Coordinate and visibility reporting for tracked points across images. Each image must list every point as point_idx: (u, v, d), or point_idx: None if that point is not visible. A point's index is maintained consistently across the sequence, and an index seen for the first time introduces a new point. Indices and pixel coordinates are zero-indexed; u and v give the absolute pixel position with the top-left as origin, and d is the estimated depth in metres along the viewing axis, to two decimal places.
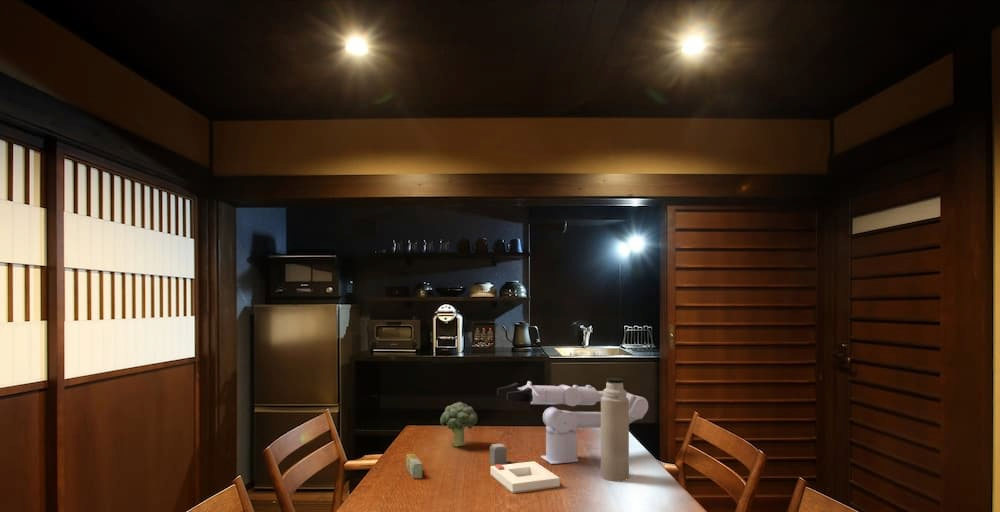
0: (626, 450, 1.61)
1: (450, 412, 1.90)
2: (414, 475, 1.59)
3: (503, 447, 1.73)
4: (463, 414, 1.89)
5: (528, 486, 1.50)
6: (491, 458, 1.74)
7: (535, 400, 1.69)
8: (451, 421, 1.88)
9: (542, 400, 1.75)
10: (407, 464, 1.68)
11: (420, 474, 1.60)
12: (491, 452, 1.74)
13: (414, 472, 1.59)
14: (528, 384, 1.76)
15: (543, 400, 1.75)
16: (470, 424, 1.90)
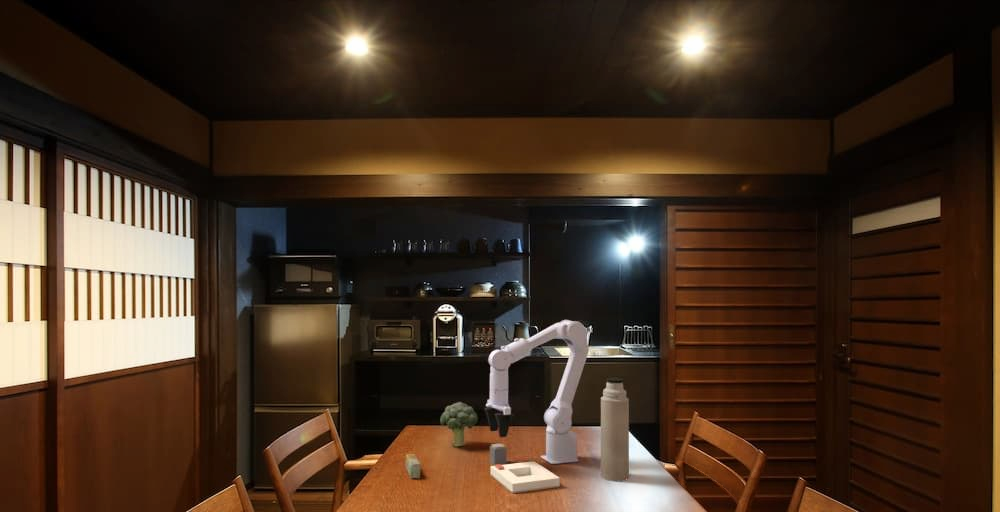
0: (626, 450, 1.61)
1: (450, 412, 1.90)
2: (412, 475, 1.59)
3: (503, 447, 1.73)
4: (463, 414, 1.89)
5: (528, 486, 1.50)
6: (491, 458, 1.74)
7: (509, 412, 1.69)
8: (451, 421, 1.88)
9: (505, 393, 1.74)
10: (406, 464, 1.68)
11: (418, 474, 1.60)
12: (491, 452, 1.74)
13: (412, 472, 1.59)
14: (489, 406, 1.74)
15: (505, 392, 1.74)
16: (470, 424, 1.90)
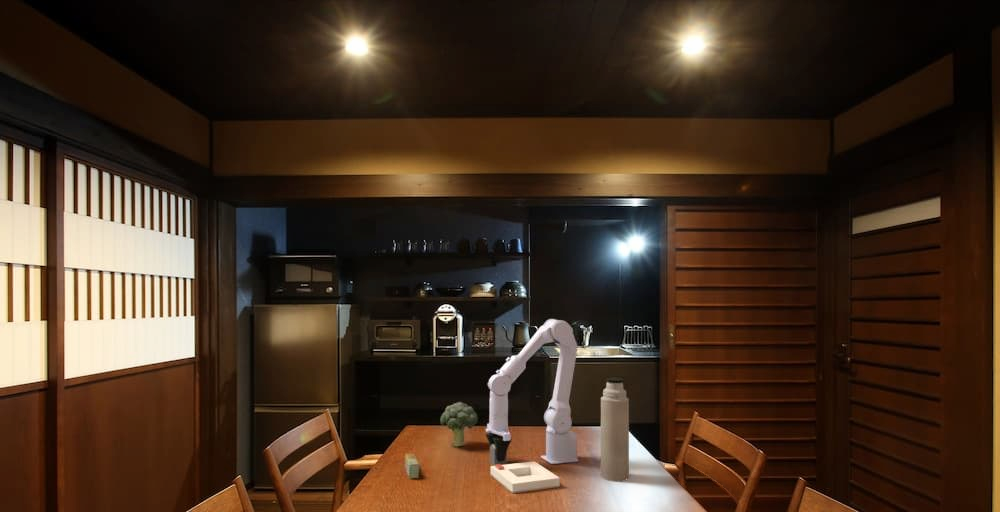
0: (626, 450, 1.61)
1: (450, 412, 1.90)
2: (410, 475, 1.59)
3: None
4: (463, 414, 1.89)
5: (528, 486, 1.50)
6: (491, 458, 1.74)
7: (509, 438, 1.68)
8: (451, 421, 1.88)
9: (505, 418, 1.73)
10: (405, 464, 1.68)
11: (416, 474, 1.59)
12: (491, 451, 1.74)
13: (410, 472, 1.59)
14: (489, 431, 1.73)
15: (505, 417, 1.73)
16: (470, 424, 1.90)
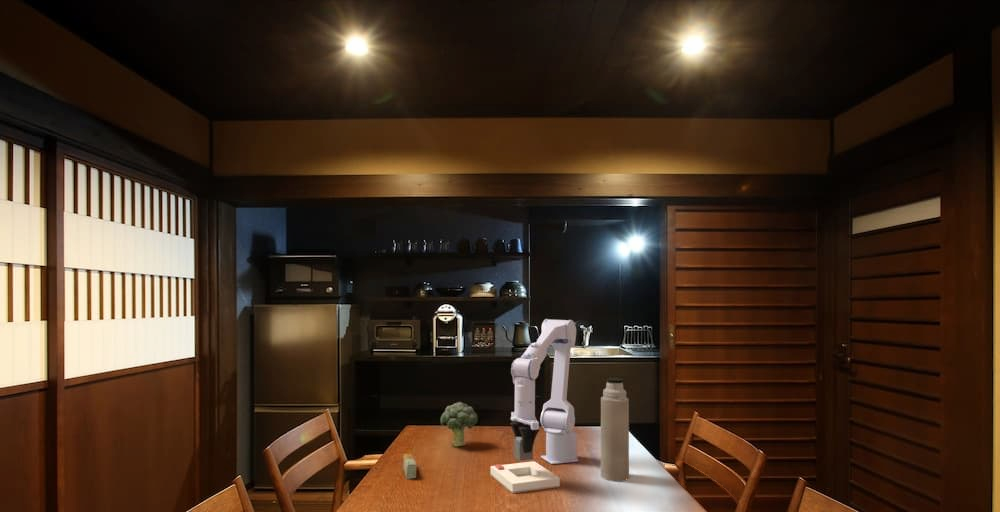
0: (626, 450, 1.61)
1: (450, 412, 1.90)
2: (408, 475, 1.59)
3: None
4: (463, 414, 1.89)
5: (528, 486, 1.50)
6: (516, 452, 1.59)
7: (537, 427, 1.53)
8: (451, 421, 1.88)
9: (532, 406, 1.58)
10: (403, 464, 1.68)
11: (414, 475, 1.59)
12: (516, 445, 1.59)
13: (408, 472, 1.59)
14: None
15: (532, 405, 1.58)
16: (470, 424, 1.90)
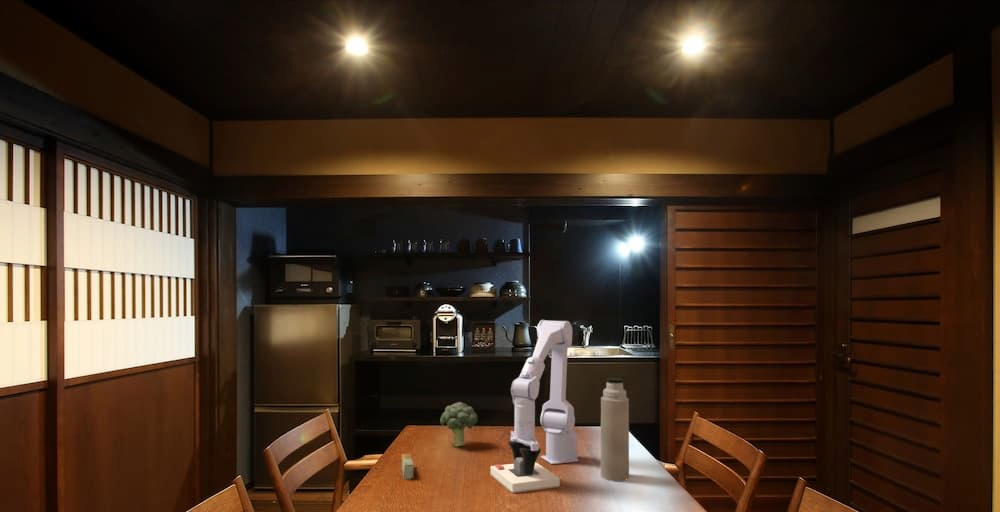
0: (626, 450, 1.61)
1: (450, 412, 1.90)
2: (405, 476, 1.59)
3: None
4: (463, 414, 1.89)
5: (528, 486, 1.50)
6: (515, 473, 1.58)
7: (537, 448, 1.53)
8: (451, 421, 1.88)
9: (532, 426, 1.58)
10: None
11: (411, 475, 1.59)
12: (516, 466, 1.58)
13: (405, 473, 1.59)
14: (514, 440, 1.58)
15: (532, 425, 1.58)
16: (470, 424, 1.90)
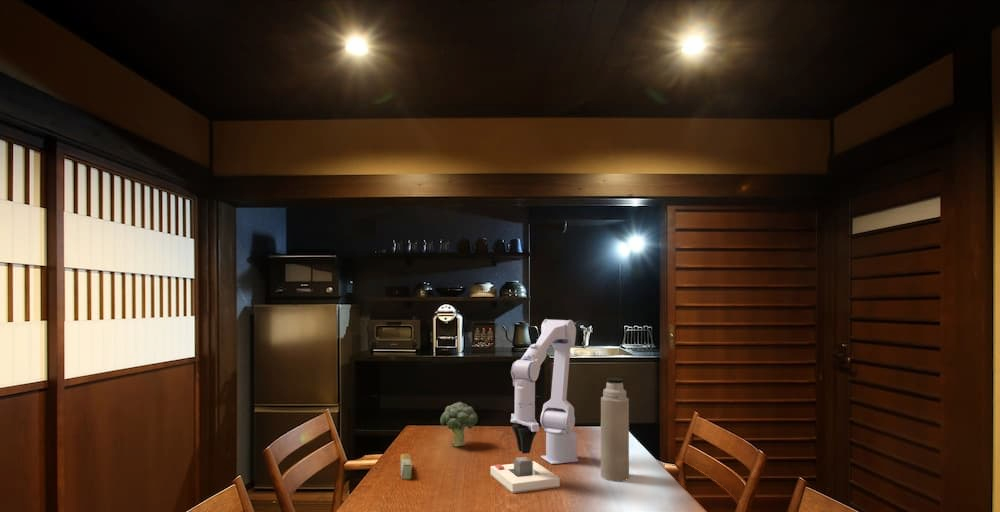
0: (626, 450, 1.61)
1: (450, 412, 1.90)
2: (403, 476, 1.59)
3: (529, 461, 1.58)
4: (463, 414, 1.89)
5: (528, 486, 1.50)
6: (515, 473, 1.58)
7: (537, 429, 1.53)
8: (451, 421, 1.88)
9: (532, 408, 1.58)
10: (400, 464, 1.67)
11: (409, 475, 1.59)
12: (516, 466, 1.58)
13: (403, 473, 1.59)
14: None
15: (532, 406, 1.58)
16: (470, 424, 1.90)
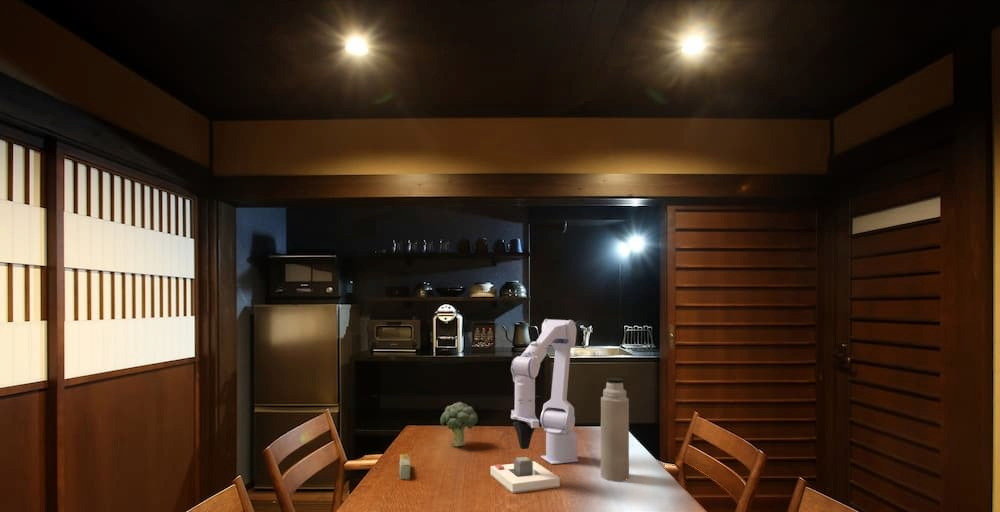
0: (626, 450, 1.61)
1: (450, 412, 1.90)
2: (401, 476, 1.59)
3: (529, 461, 1.58)
4: (463, 414, 1.89)
5: (528, 486, 1.50)
6: (515, 473, 1.58)
7: (537, 425, 1.53)
8: (451, 421, 1.88)
9: (532, 404, 1.58)
10: None
11: (407, 475, 1.59)
12: (516, 466, 1.58)
13: (401, 473, 1.59)
14: (514, 418, 1.58)
15: (532, 403, 1.58)
16: (470, 424, 1.90)
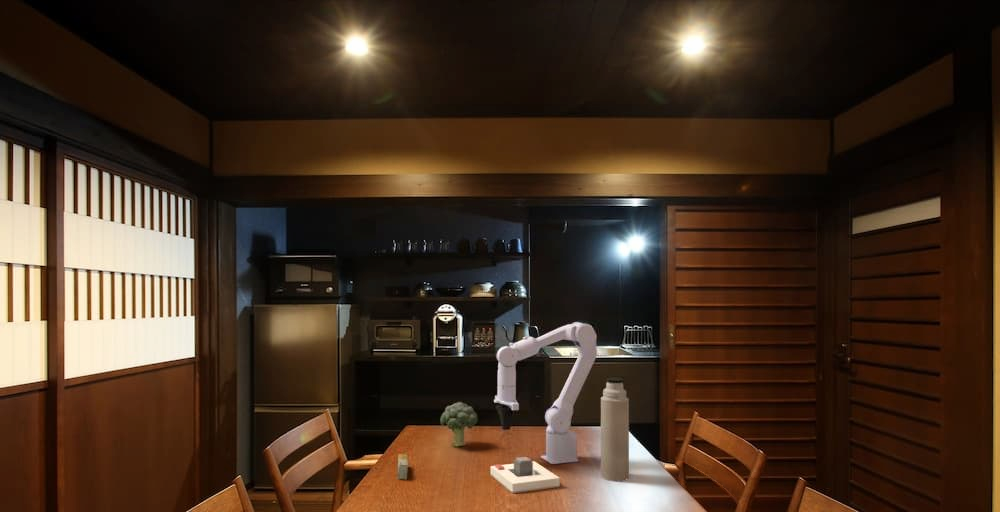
0: (626, 450, 1.61)
1: (450, 412, 1.90)
2: (399, 476, 1.58)
3: (529, 461, 1.58)
4: (463, 414, 1.89)
5: (528, 486, 1.50)
6: (515, 473, 1.58)
7: (517, 408, 1.71)
8: (451, 421, 1.88)
9: (513, 389, 1.76)
10: None
11: (405, 475, 1.59)
12: (516, 466, 1.58)
13: (399, 473, 1.59)
14: (497, 402, 1.76)
15: (513, 388, 1.76)
16: (470, 424, 1.90)
